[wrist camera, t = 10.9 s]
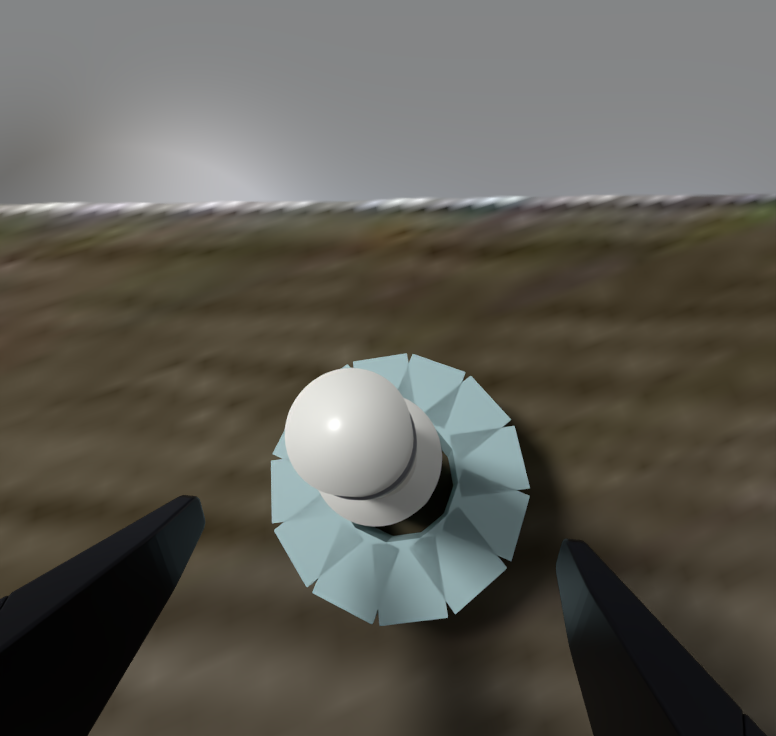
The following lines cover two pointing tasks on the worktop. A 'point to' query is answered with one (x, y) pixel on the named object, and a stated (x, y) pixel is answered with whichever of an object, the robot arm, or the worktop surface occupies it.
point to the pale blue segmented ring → (440, 539)
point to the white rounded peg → (363, 447)
